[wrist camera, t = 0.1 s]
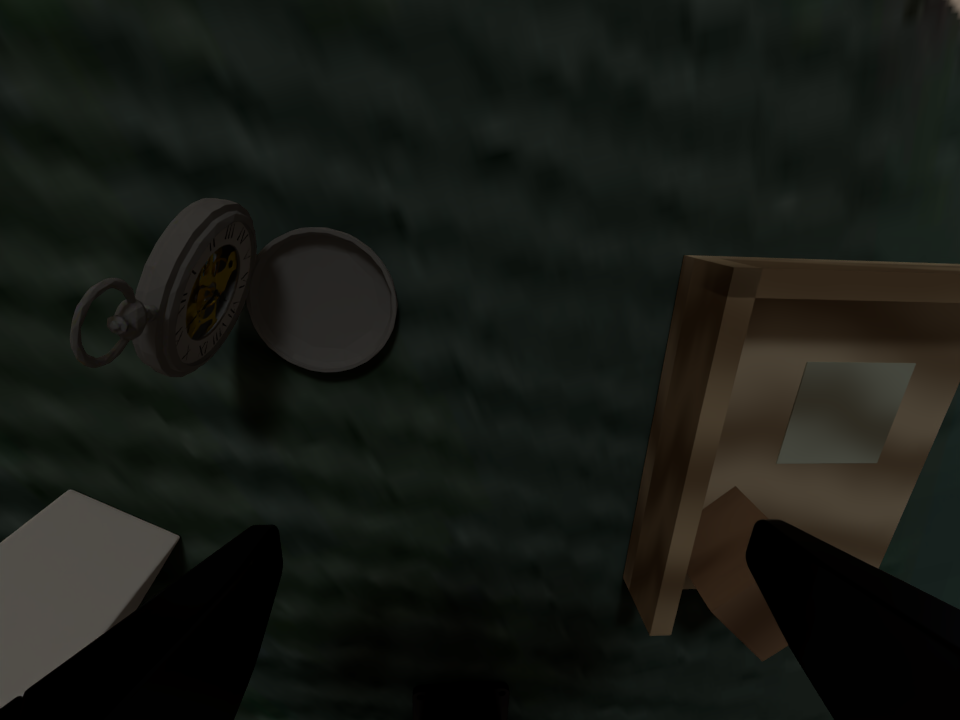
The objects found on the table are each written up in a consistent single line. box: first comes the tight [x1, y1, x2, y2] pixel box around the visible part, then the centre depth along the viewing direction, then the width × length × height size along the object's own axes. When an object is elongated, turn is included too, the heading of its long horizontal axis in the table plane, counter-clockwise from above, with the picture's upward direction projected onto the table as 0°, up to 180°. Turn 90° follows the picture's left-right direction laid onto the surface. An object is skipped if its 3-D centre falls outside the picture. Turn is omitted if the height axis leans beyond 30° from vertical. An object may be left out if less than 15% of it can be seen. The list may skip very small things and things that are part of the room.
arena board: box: [623, 255, 960, 636], centre depth 24 cm, size 20×16×4 cm
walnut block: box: [687, 486, 788, 662], centre depth 24 cm, size 5×5×5 cm
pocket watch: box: [70, 198, 398, 377], centre depth 16 cm, size 8×8×10 cm
